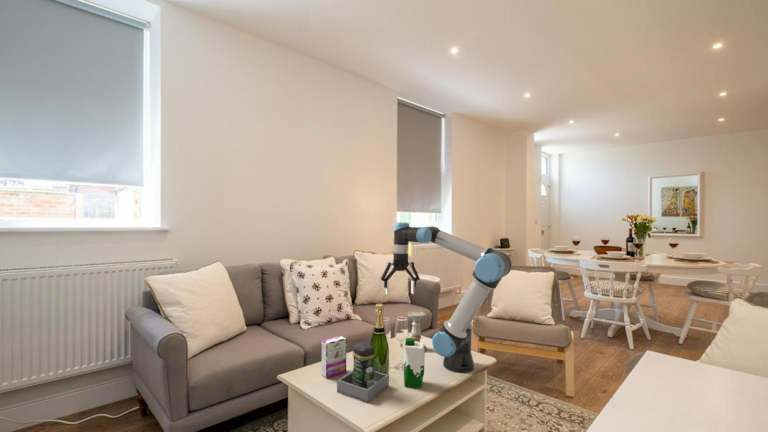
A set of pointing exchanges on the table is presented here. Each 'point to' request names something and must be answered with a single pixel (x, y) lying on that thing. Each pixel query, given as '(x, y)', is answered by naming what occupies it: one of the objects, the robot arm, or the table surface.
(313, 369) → the table surface
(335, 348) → the candy bar box
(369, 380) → the coffee jar
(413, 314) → the candle holder
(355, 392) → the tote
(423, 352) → the milk carton
